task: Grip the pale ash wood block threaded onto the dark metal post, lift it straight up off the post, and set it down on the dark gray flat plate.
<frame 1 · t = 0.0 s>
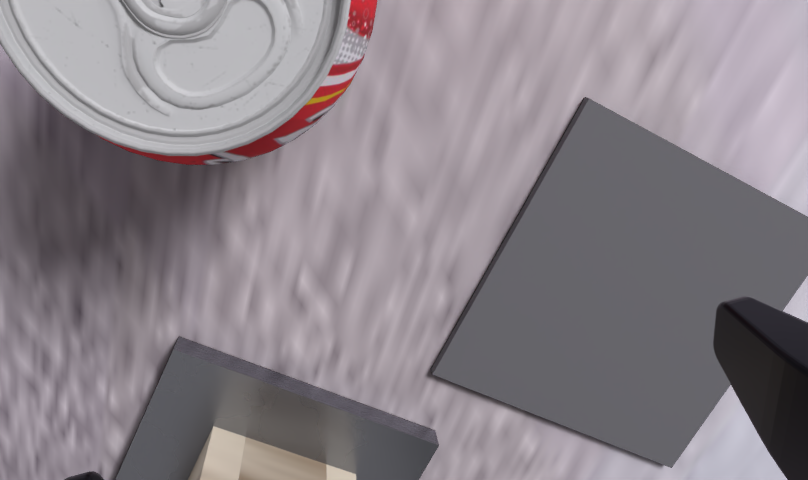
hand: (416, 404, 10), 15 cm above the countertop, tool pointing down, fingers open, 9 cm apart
dark gray flat plate: (630, 299, 27), on the countertop
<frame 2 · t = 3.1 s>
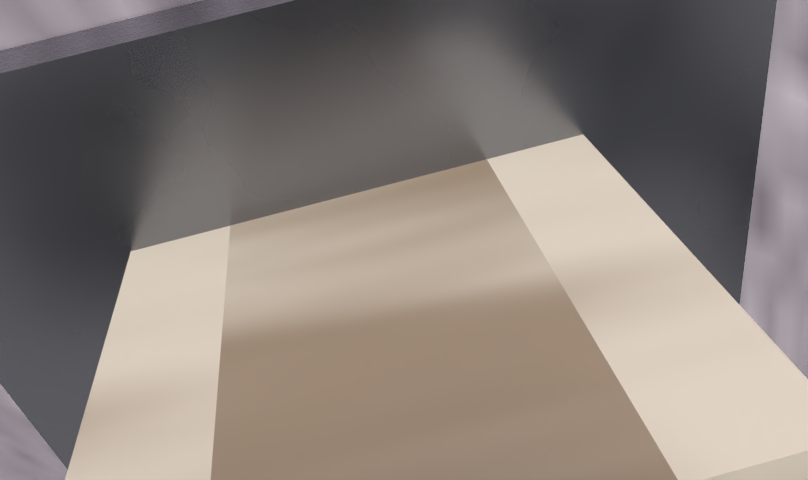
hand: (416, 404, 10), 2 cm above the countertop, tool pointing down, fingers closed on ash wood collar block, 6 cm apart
metal post stand: (393, 314, 11), on the countertop
ash wood collar block: (403, 355, 10), point 1 cm above the countertop, touching gripper, metal post stand
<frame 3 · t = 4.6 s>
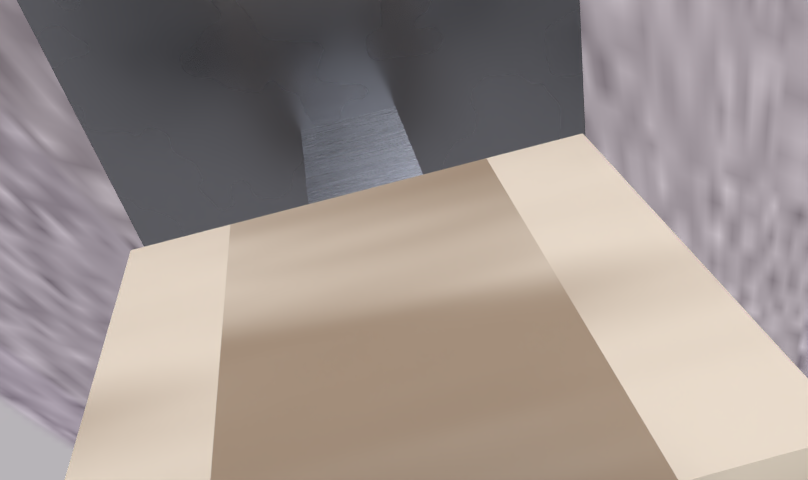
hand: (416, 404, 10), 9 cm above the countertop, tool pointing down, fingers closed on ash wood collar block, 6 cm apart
metal post stand: (354, 142, 17), on the countertop
ash wood collar block: (403, 354, 10), point 8 cm above the countertop, touching gripper
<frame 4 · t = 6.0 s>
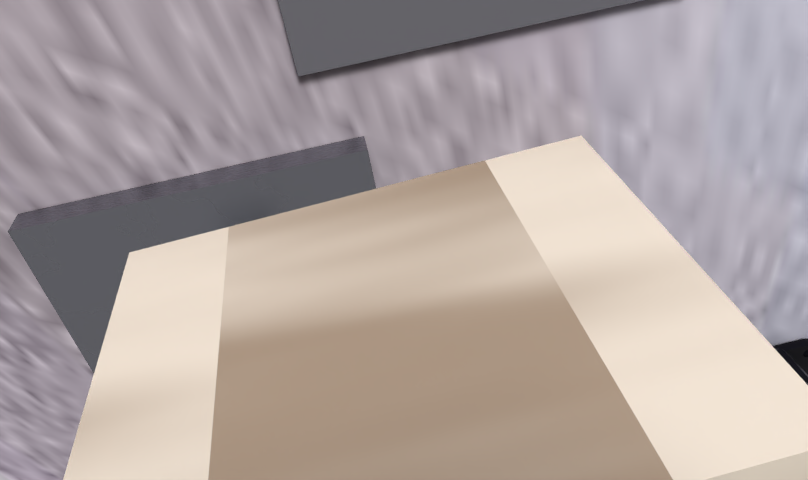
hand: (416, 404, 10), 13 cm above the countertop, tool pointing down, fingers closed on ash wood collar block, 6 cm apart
metal post stand: (244, 306, 24), on the countertop
ash wood collar block: (402, 356, 10), point 12 cm above the countertop, touching gripper
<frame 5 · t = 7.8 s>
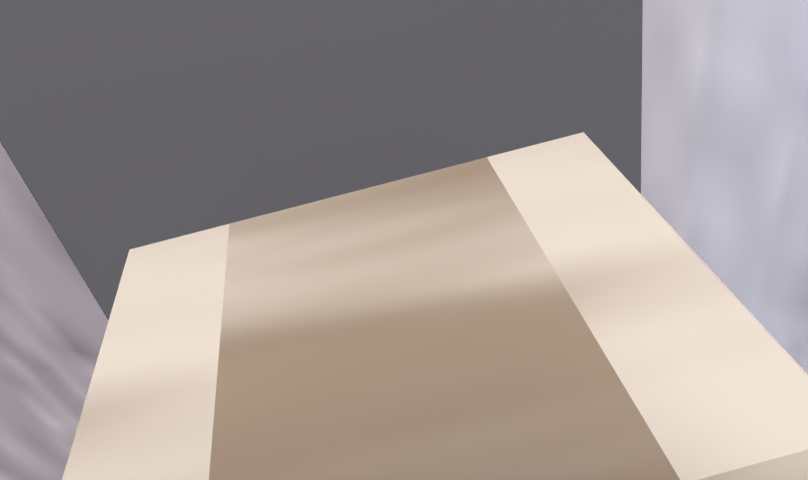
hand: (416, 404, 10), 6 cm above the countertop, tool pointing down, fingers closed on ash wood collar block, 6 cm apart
ash wood collar block: (403, 354, 10), point 5 cm above the countertop, touching gripper
dark gray flat plate: (362, 192, 14), on the countertop
when the fingers open (3 cm above the countertop, at t = 9.3 s): ash wood collar block drops 2 cm, resting on dark gray flat plate.
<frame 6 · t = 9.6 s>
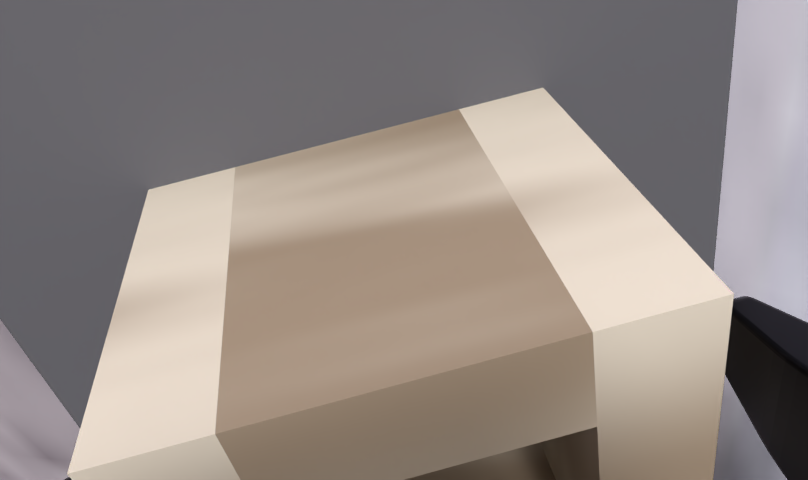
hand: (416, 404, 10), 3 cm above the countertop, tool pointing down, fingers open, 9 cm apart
ash wood collar block: (389, 291, 12), resting on dark gray flat plate
dark gray flat plate: (384, 277, 12), on the countertop
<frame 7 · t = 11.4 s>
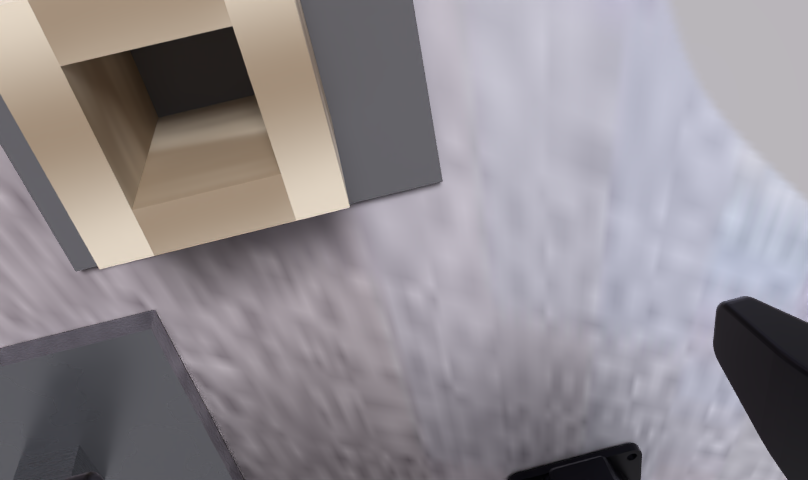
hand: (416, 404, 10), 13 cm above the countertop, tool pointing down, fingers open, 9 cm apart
metal post stand: (69, 448, 26), on the countertop
ash wood collar block: (196, 46, 18), resting on dark gray flat plate
dark gray flat plate: (196, 41, 19), on the countertop
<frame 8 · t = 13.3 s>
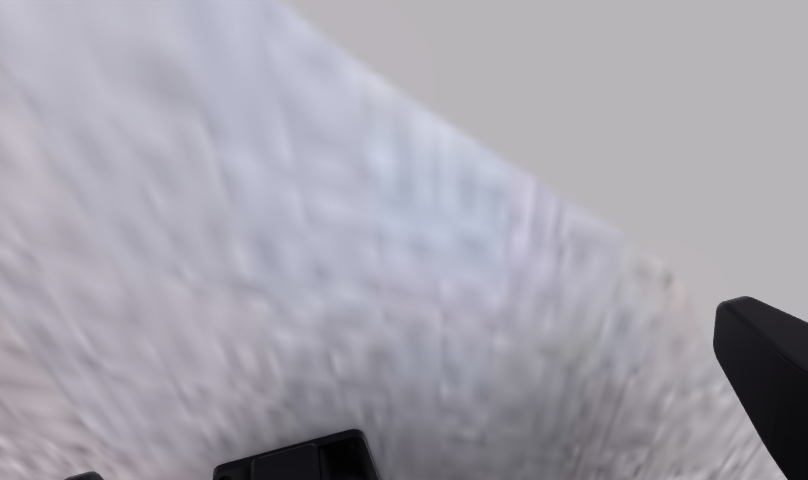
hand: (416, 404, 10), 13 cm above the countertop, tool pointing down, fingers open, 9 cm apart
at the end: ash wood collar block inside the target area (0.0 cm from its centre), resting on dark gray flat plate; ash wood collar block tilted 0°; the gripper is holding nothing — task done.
